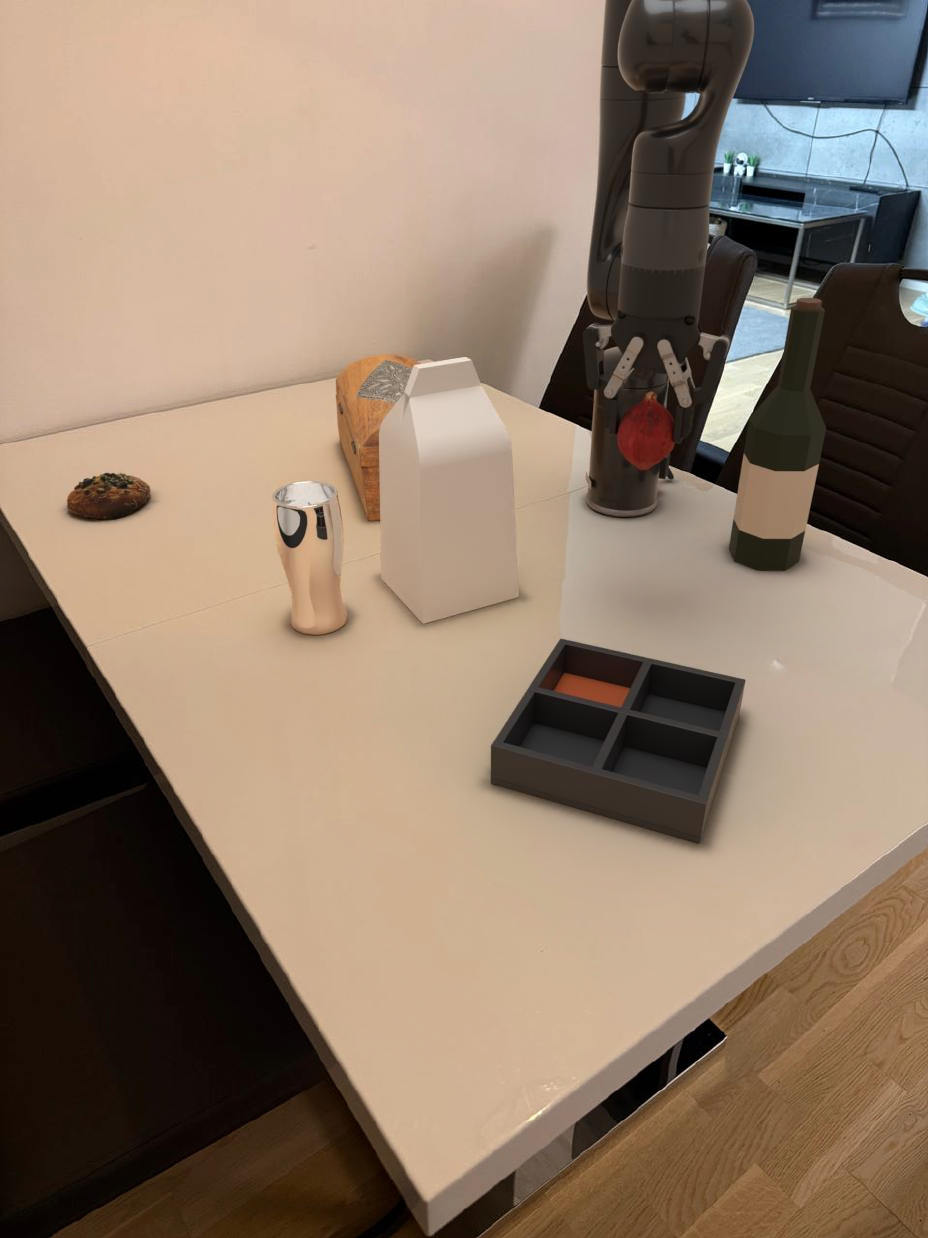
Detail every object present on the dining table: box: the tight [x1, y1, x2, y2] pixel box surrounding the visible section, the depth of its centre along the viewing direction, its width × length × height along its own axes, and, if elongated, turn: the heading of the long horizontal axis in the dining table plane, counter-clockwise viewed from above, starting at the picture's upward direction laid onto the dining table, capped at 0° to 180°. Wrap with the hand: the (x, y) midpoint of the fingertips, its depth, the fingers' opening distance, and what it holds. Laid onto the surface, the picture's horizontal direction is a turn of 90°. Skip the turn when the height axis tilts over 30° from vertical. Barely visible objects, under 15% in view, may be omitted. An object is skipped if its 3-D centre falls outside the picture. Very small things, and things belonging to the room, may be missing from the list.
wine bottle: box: [728, 297, 827, 572], centre depth 103 cm, size 8×8×30 cm
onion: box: [617, 391, 676, 470], centre depth 91 cm, size 6×6×8 cm
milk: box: [379, 356, 520, 625], centre depth 99 cm, size 12×12×26 cm
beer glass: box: [271, 480, 348, 636], centre depth 96 cm, size 7×7×15 cm
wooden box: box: [335, 354, 422, 522], centre depth 131 cm, size 30×16×14 cm, turn 12°
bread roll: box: [66, 472, 151, 521], centre depth 126 cm, size 11×11×5 cm
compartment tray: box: [490, 638, 746, 844], centre depth 80 cm, size 18×18×4 cm
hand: (645, 435), depth 91 cm, fingers closed on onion, 6 cm apart
